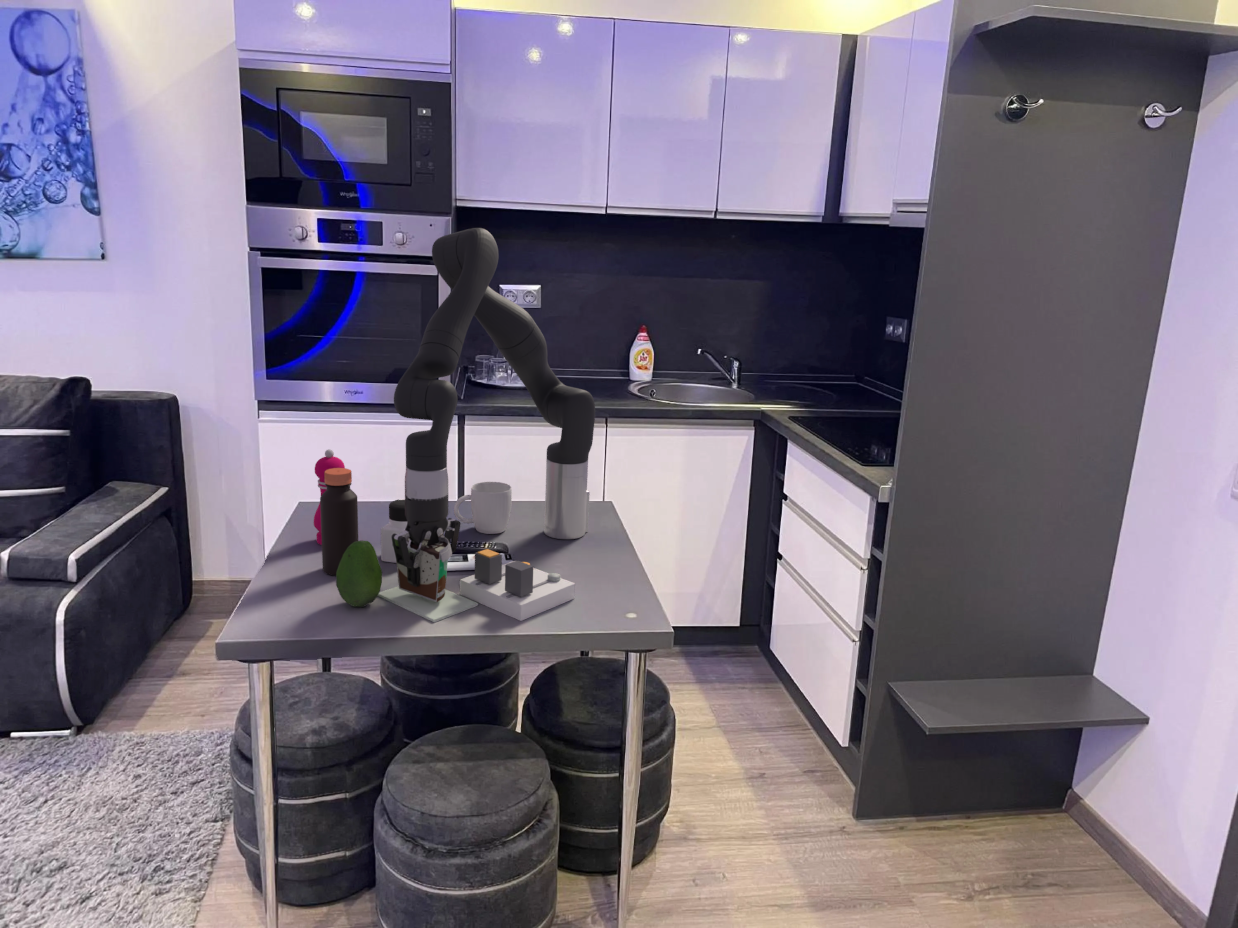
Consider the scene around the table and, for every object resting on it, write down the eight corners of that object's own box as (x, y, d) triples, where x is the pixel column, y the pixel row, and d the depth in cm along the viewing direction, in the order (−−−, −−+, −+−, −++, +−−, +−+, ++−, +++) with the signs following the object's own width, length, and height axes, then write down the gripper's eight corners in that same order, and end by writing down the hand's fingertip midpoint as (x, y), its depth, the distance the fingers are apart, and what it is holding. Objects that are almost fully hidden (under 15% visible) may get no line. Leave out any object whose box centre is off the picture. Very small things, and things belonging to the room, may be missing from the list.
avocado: (390, 598, 163) (389, 536, 160) (369, 616, 155) (367, 551, 152) (350, 593, 164) (348, 531, 161) (327, 609, 157) (325, 545, 154)
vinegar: (344, 560, 179) (341, 464, 174) (366, 569, 176) (364, 471, 170) (315, 570, 174) (311, 471, 169) (337, 579, 170) (334, 478, 165)
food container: (466, 593, 162) (466, 541, 160) (442, 604, 157) (442, 551, 155) (417, 576, 169) (416, 526, 166) (393, 586, 164) (391, 535, 161)
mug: (508, 522, 207) (509, 481, 204) (513, 535, 199) (514, 492, 196) (452, 524, 204) (452, 482, 202) (455, 537, 196) (455, 493, 193)
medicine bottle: (414, 565, 179) (413, 508, 176) (380, 561, 180) (379, 504, 177) (428, 553, 185) (428, 498, 182) (396, 549, 187) (395, 494, 184)
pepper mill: (318, 534, 193) (315, 444, 188) (353, 535, 194) (350, 445, 188) (310, 546, 186) (306, 453, 181) (346, 547, 187) (343, 454, 182)
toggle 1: (486, 574, 168) (487, 548, 166) (501, 580, 165) (502, 553, 164) (474, 578, 165) (474, 551, 164) (489, 584, 163) (489, 557, 162)
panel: (514, 574, 177) (514, 556, 176) (574, 598, 167) (575, 579, 166) (459, 594, 166) (460, 575, 165) (520, 620, 156) (521, 600, 155)
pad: (421, 580, 171) (421, 578, 171) (477, 605, 162) (477, 603, 162) (377, 595, 164) (377, 593, 164) (434, 622, 154) (434, 619, 154)
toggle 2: (516, 586, 163) (517, 560, 162) (532, 592, 160) (533, 566, 159) (504, 590, 161) (505, 564, 159) (520, 597, 158) (521, 570, 157)
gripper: (444, 479, 165) (444, 565, 170) (379, 494, 154) (381, 586, 159) (472, 488, 161) (471, 576, 165) (407, 504, 150) (408, 598, 154)
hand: (427, 580), depth 162 cm, fingers closed on food container, 5 cm apart
